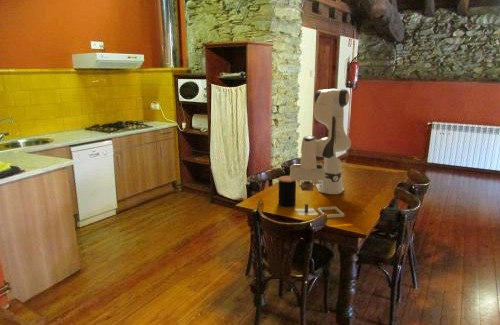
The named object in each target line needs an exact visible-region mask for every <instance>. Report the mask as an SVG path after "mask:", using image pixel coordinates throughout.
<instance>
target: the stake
mask: <svg viewBox="0 0 500 325" xmlns="http://www.w3.org/2000/svg"><path fill="white" fill-rule="evenodd" d="M294 210H295V211H296V213H297V214H298V215H299V217H305V216H306V217H307V216H317V215H319V214H320V213H319V212H318V211H317V210H315V209H314V207H309V204H308V203H304V207H301V208H300V207H299V208H294Z"/></svg>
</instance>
